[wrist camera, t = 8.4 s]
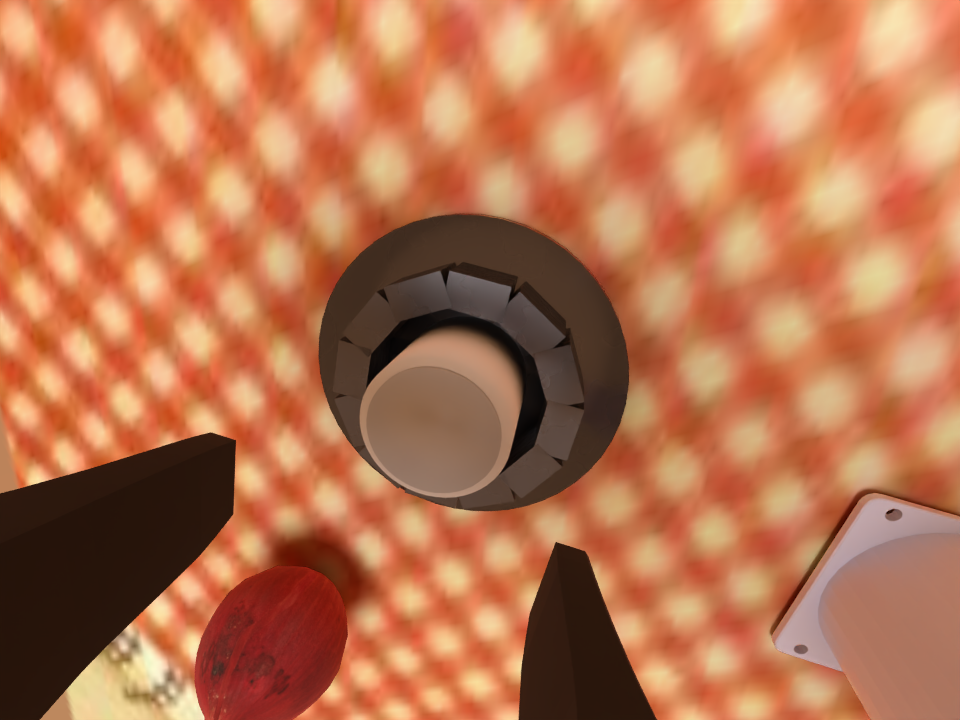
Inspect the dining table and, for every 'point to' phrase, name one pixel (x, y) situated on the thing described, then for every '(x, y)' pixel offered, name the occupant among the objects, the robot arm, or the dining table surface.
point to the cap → (446, 408)
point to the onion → (271, 646)
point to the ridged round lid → (507, 304)
